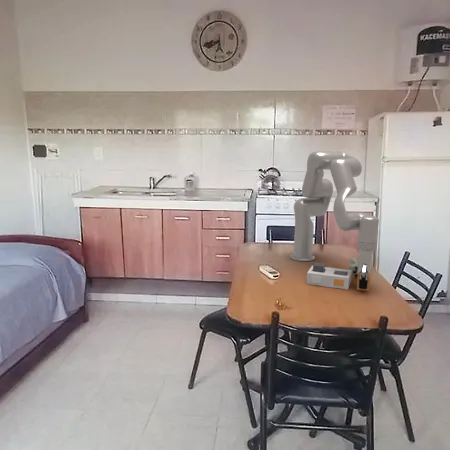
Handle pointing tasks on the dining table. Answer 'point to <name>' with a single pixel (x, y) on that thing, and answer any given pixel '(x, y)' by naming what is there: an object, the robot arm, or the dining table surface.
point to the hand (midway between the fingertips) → (363, 285)
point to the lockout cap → (367, 282)
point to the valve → (354, 266)
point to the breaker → (319, 267)
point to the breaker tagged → (341, 273)
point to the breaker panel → (329, 278)
